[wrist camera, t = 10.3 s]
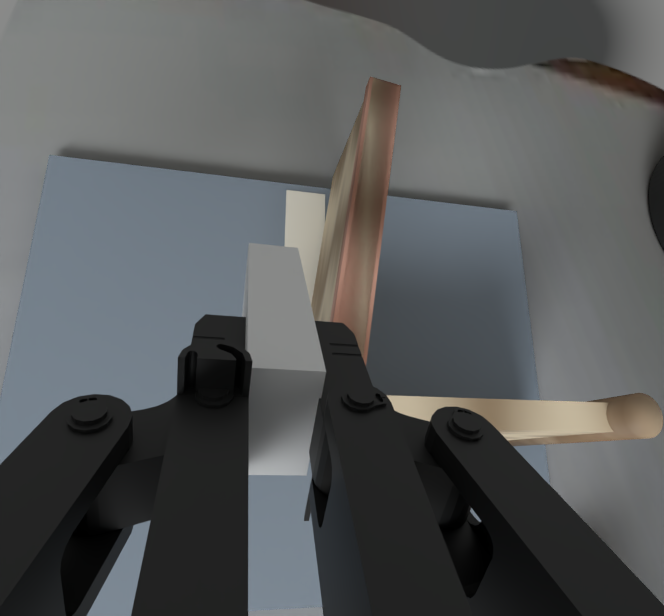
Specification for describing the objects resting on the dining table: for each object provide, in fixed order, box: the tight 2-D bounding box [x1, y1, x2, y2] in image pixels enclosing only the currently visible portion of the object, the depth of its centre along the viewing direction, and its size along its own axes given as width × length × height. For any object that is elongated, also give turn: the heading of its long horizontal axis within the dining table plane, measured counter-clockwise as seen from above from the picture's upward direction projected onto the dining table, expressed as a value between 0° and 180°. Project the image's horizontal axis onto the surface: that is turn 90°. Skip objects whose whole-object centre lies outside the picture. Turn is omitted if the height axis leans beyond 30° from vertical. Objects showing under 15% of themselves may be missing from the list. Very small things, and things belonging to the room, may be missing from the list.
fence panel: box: [311, 77, 401, 366], centre depth 25 cm, size 14×2×8 cm, turn 171°
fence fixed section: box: [387, 393, 663, 446], centre depth 23 cm, size 14×2×10 cm, turn 90°
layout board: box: [0, 155, 550, 616], centre depth 28 cm, size 29×23×1 cm
